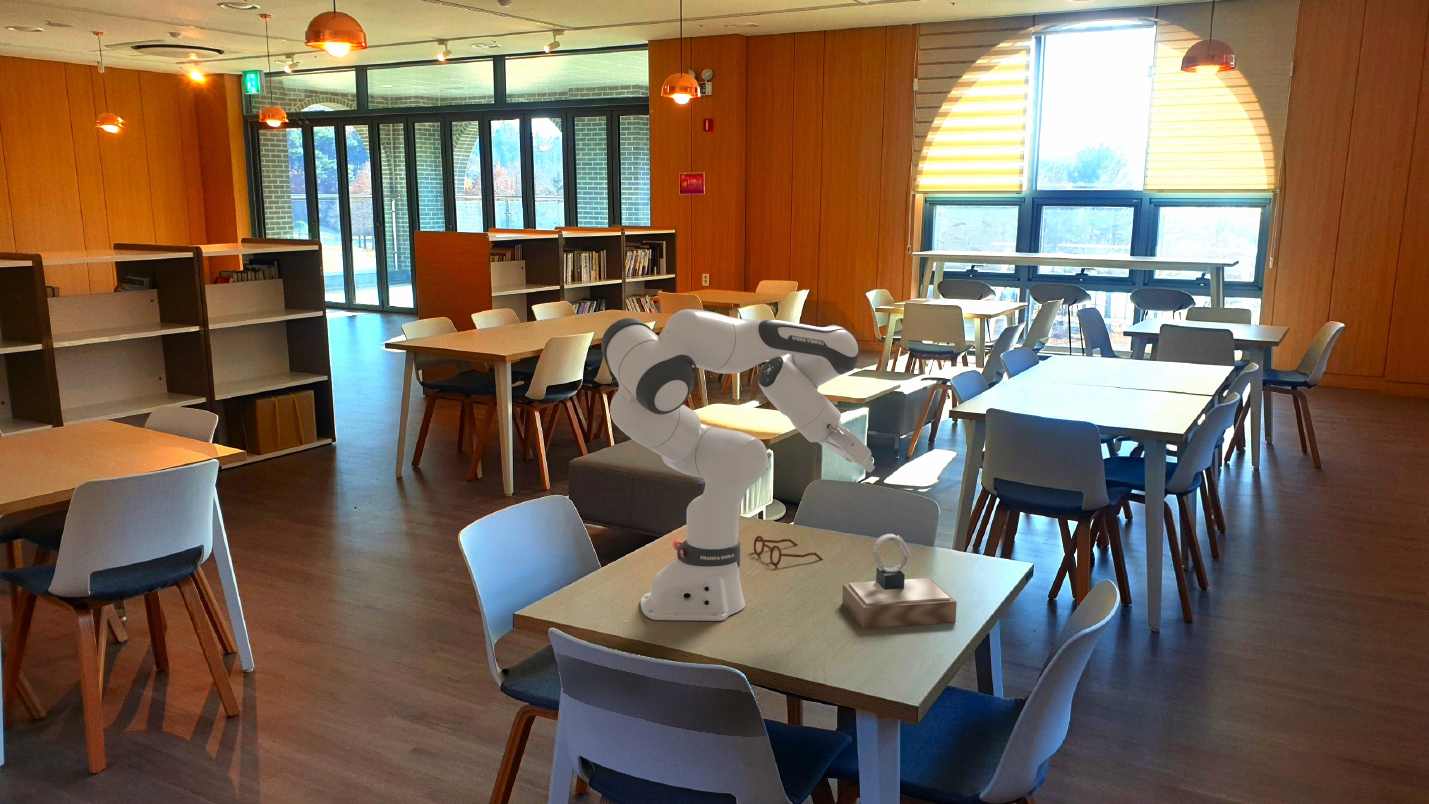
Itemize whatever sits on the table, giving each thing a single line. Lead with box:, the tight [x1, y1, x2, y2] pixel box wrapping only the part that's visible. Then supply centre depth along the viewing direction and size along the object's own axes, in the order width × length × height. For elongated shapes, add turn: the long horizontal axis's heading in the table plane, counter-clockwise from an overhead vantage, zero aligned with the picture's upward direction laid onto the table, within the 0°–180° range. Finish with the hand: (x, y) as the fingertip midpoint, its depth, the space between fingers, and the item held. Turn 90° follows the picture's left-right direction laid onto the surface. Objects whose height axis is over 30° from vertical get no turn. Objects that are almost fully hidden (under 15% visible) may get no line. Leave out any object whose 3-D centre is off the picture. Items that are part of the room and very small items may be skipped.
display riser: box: [841, 577, 958, 629], centre depth 215 cm, size 20×14×5 cm
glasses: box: [753, 535, 823, 566], centre depth 251 cm, size 13×13×5 cm
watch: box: [871, 533, 912, 590], centre depth 217 cm, size 6×8×11 cm
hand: (861, 464), depth 213 cm, fingers open, 8 cm apart
